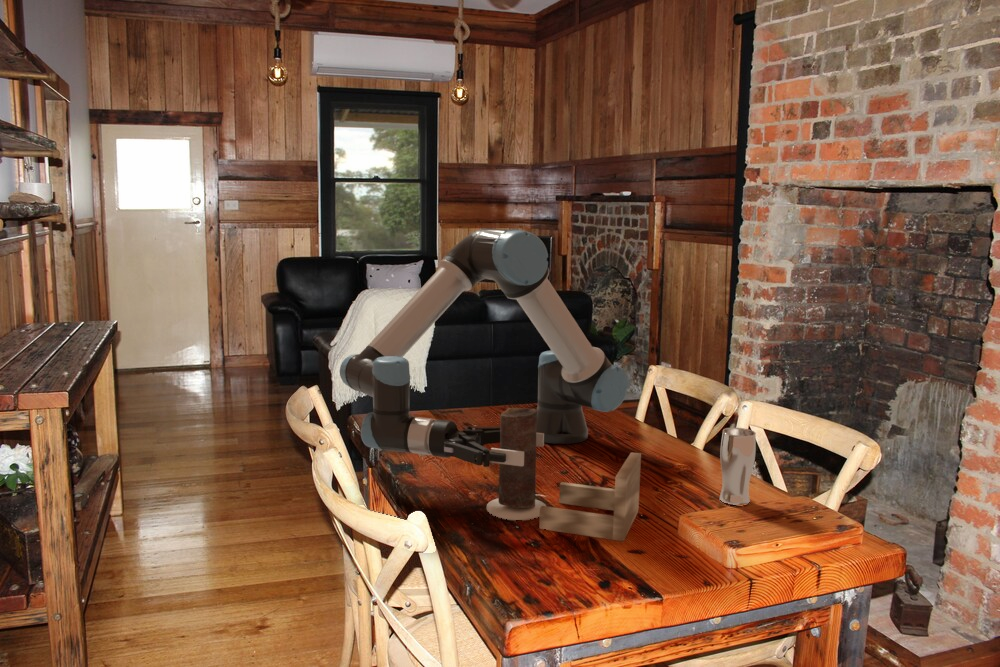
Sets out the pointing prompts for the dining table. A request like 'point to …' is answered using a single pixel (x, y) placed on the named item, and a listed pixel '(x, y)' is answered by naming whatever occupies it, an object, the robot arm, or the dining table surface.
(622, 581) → the dining table surface
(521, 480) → the candle
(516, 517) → the coaster
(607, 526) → the shelf
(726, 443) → the beer glass
